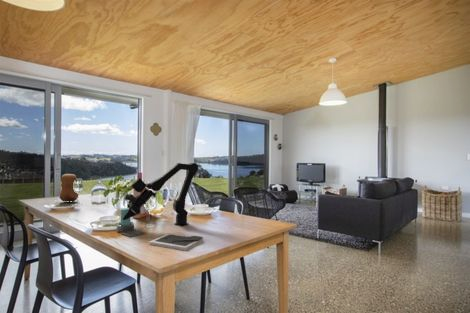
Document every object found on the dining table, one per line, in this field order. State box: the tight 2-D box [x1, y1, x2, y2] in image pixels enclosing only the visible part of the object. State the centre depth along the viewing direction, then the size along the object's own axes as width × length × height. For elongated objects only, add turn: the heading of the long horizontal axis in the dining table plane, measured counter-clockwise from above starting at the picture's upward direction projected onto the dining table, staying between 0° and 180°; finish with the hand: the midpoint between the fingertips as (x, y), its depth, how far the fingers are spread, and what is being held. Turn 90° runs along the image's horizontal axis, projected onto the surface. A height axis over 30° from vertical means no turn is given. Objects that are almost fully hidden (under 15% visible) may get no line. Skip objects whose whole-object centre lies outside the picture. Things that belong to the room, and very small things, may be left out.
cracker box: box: [132, 187, 149, 219], centre depth 195 cm, size 14×6×21 cm, turn 168°
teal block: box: [119, 207, 131, 226], centre depth 161 cm, size 5×5×12 cm
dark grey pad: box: [120, 229, 146, 238], centre depth 152 cm, size 9×9×1 cm
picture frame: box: [149, 232, 204, 252], centre depth 138 cm, size 16×3×21 cm
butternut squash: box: [59, 173, 79, 202], centre depth 245 cm, size 14×13×25 cm
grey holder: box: [116, 221, 135, 233], centre depth 161 cm, size 9×9×3 cm
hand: (122, 218), depth 160 cm, fingers open, 8 cm apart
